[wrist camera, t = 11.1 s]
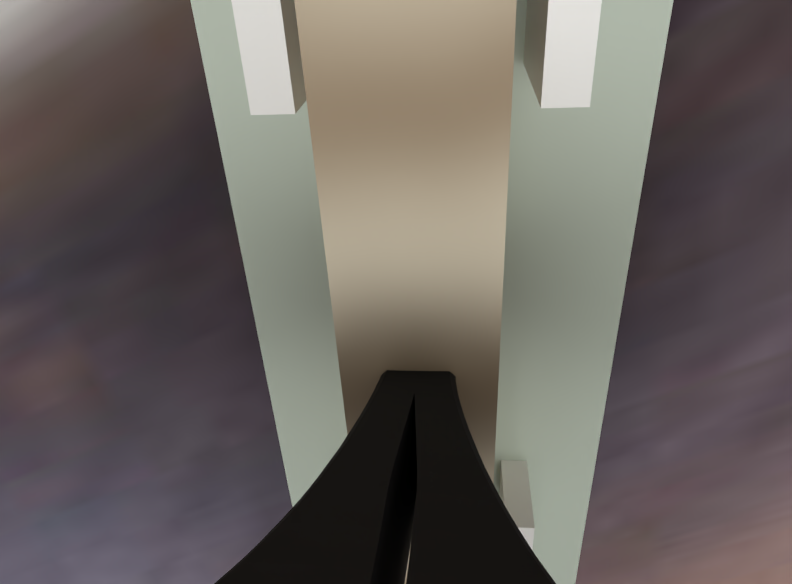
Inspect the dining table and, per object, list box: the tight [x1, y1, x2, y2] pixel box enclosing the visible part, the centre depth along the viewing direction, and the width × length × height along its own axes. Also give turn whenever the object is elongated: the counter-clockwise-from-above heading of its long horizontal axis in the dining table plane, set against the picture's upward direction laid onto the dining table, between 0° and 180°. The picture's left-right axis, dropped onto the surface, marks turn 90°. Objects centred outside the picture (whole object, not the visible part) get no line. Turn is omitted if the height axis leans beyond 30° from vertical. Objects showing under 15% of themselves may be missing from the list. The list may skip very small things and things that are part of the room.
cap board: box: [190, 0, 673, 584], centre depth 17 cm, size 24×10×1 cm, turn 3°
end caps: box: [231, 0, 602, 549], centre depth 16 cm, size 23×6×4 cm, turn 3°
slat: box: [294, 0, 517, 584], centre depth 14 cm, size 16×3×5 cm, turn 3°
